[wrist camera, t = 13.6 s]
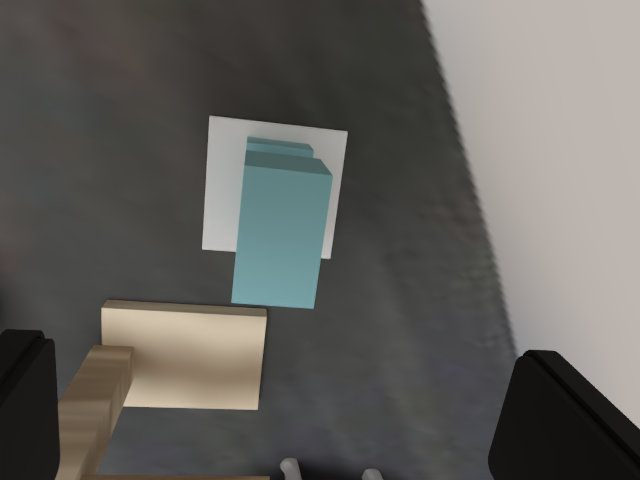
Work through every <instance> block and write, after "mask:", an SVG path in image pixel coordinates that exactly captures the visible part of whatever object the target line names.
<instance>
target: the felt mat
mask: <svg viewBox="0 0 640 480" xmlns="http://www.w3.org/2000/svg"><path fill="white" fill-rule="evenodd" d="M347 134H348V132H347V131H341V130H332V129H324V128H315V127H306V126H298V125H289V124H280V123H272V122H263V121H254V120H246V119H237V118H228V117H220V116H211V115H210V116H209V134H208V152H207V171H206V189H205V207H204V225H203V243H202V249H205V250H218V251H232V252H236V248H237V237H238V226H239V215H240V205H241V194H242V183H243V172H244V162H245V154H246V146H247V136H249V137H257V138H265V139H273V140H281V141H289V142H297V143H305V144H309V145H310V146H311V147H312V149H313V150H314V154H313V158H317V159H321V160H322V162H323V163H324V164H325V166H326V167H327V168H328V170H329V171H330V172H331V173H332V175H333V180H332V187H331V193H330V200H329V207H328V214H327V220H326V227H325V234H324V241H323V248H322V254H321V258H326V259H330V257H331V250H332V242H333V235H334V228H335V221H336V213H337V206H338V199H339V192H340V185H341V177H342V170H343V163H344V156H345V148H346V141H347Z"/></svg>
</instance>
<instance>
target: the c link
mask: <svg viewBox="0 0 640 480" xmlns="http://www.w3.org/2000/svg"><path fill="white" fill-rule="evenodd" d="M313 154H314V150H313V149H312V147H311V146H310V145H309V144H305V143H297V142H289V141H281V140H273V139H265V138H257V137H249V136H247V146H246V154H245V162H244V172H243V183H242V194H241V205H240V215H239V226H238V237H237V248H236V258H235V269H234V280H233V291H232V301H231V303H242V304H256V305H270V306H284V307H297V308H311V309H313V308H314V302H315V295H316V288H317V281H318V275H319V268H320V261H321V254H322V248H323V241H324V234H325V227H326V220H327V214H328V207H329V200H330V193H331V187H332V180H333V175H332V173H331V172H330V171H329V170H328V168H327V167H326V166H325V164H324V163H323V162H322V160H321V159H317V158H313Z"/></svg>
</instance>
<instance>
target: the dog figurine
mask: <svg viewBox="0 0 640 480" xmlns="http://www.w3.org/2000/svg"><path fill="white" fill-rule="evenodd" d="M280 468H281V470H282V471H283V472H284V474H285V480H302V479H301V474H300V470H299V466H298V462H297V459H293V458H287V459H284V460H283V461H282V462H281V464H280ZM362 480H383V478H382V476H381V474H380V472H379V470H377V469H366V470H365V471H364V474H363V476H362Z"/></svg>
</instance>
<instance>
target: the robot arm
mask: <svg viewBox="0 0 640 480" xmlns="http://www.w3.org/2000/svg"><path fill="white" fill-rule="evenodd" d="M59 464H60V438H59V418H58V398H57V379H56V359H55V344H54V341H53V340H52V339H45V336H44V334H43V332H42V331H41V330H15V329H7V330H5V331H4V332H3V333H2V334H1V335H0V480H55V478H56V475H57V473H58V469H59ZM488 465H489V469H490V472H491V474H492V476H493V478H494V480H640V429H639V428H638V427H637V426H636V425H634V424H633V423H632V422H631V421H630V420H629V419H628V418H627V417H626V416H625V415H624V414H623V413H622V412H621V411H620V410H619V409H618V408H616V407H615V406H614V405H613V404H612V403H611V402H610V401H609V400H608V399H607V398H606V397H604V395H603V394H602V393H600V392H599V391H598V390H597V389H596V388H595V387H594V386H593V385H592V384H591V383H590V382H589V381H587V380H586V378H584V377H583V376H582V375H581V374H580V373H579V372H578V371H577V370H576V369H575V368H574V367H573V366H572V365H571V364H570V363H569V362H568V361H566V360H565V359H564V358H563V357H562V356H561V355H560V354H559V353H557V352H556V351H547V350H528V351H526V352H525V353H524V354H523V356H521V357H519V358H518V359H517V360H516V363H515V366H514V369H513V373H512V376H511V379H510V383H509V386H508V390H507V393H506V397H505V400H504V403H503V407H502V410H501V414H500V417H499V421H498V424H497V427H496V431H495V434H494V438H493V441H492V445H491V448H490V451H489V456H488Z"/></svg>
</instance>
